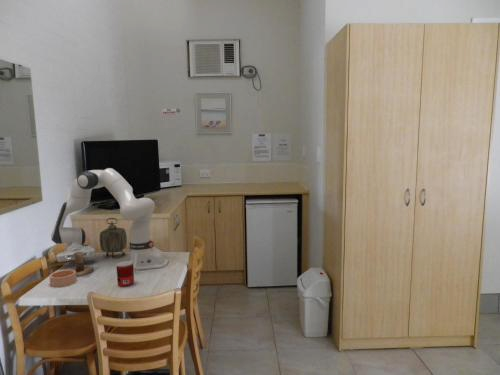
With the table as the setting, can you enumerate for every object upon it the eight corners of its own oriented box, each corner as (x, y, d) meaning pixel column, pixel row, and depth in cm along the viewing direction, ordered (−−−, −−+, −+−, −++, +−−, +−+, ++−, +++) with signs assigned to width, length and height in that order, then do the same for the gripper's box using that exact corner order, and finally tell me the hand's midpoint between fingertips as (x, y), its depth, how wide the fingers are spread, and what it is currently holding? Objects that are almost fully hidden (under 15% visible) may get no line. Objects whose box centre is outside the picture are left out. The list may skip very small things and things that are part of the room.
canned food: (137, 282, 185) (136, 261, 184) (126, 288, 178) (124, 266, 176) (126, 280, 188) (124, 259, 187) (114, 285, 181) (112, 264, 180)
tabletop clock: (127, 254, 234) (125, 216, 231) (123, 258, 225) (120, 219, 222) (105, 254, 234) (102, 216, 231) (99, 259, 225) (96, 219, 222)
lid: (97, 267, 208) (96, 249, 207) (87, 276, 194) (86, 256, 193) (73, 268, 207) (71, 249, 206) (61, 277, 193) (59, 257, 192)
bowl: (80, 278, 192) (79, 269, 191) (70, 287, 180) (69, 277, 179) (57, 279, 191) (56, 270, 191) (45, 288, 180) (44, 278, 179)
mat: (100, 267, 209) (100, 266, 209) (88, 277, 193) (88, 276, 193) (72, 268, 208) (71, 267, 208) (58, 278, 192) (58, 277, 192)
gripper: (55, 250, 211) (57, 256, 199) (92, 244, 222) (96, 249, 210) (56, 260, 212) (58, 267, 200) (93, 254, 222) (97, 260, 211)
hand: (78, 258), depth 205 cm, fingers open, 8 cm apart
